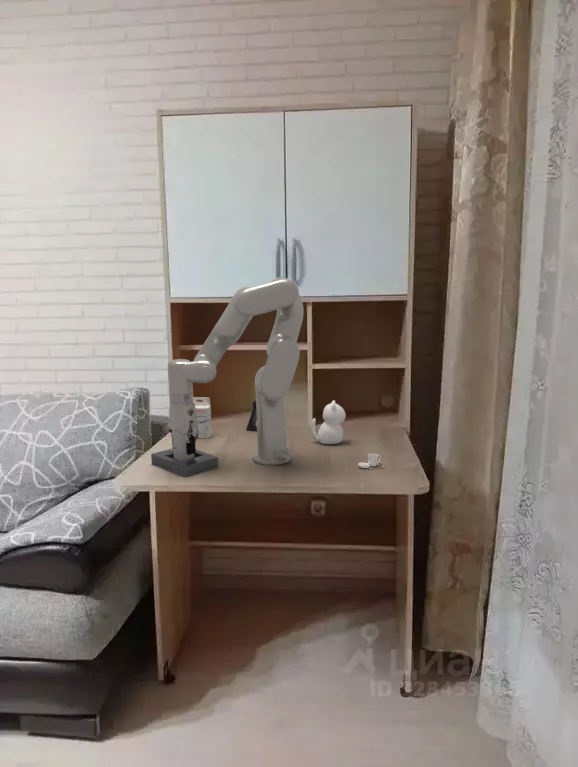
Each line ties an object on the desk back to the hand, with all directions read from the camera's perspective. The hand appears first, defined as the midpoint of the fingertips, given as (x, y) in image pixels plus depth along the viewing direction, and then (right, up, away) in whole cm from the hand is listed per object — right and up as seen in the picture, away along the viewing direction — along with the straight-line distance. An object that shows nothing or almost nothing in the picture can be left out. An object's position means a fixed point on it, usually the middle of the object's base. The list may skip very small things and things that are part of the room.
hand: (184, 451), depth 220 cm
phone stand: (+23, +4, +43) cm, 49 cm away
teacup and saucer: (+58, -5, -1) cm, 59 cm away
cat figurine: (+48, 0, +24) cm, 54 cm away
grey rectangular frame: (0, -5, +1) cm, 5 cm away
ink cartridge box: (0, +2, +35) cm, 35 cm away
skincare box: (0, -4, +1) cm, 4 cm away
